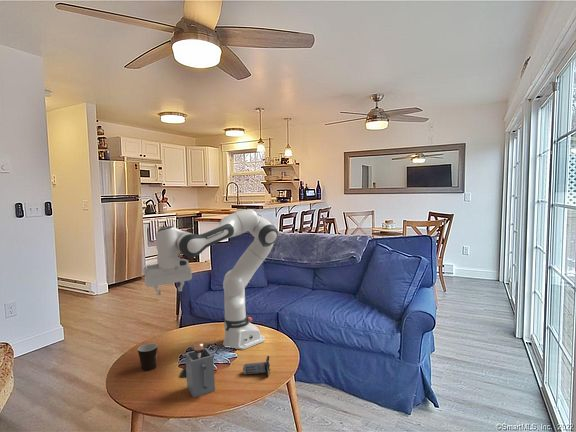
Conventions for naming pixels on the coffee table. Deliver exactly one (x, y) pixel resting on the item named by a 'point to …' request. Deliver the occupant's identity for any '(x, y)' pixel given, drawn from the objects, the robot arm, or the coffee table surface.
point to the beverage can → (257, 367)
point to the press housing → (200, 373)
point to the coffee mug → (148, 356)
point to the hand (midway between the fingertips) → (169, 292)
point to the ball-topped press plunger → (198, 348)
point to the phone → (183, 373)
